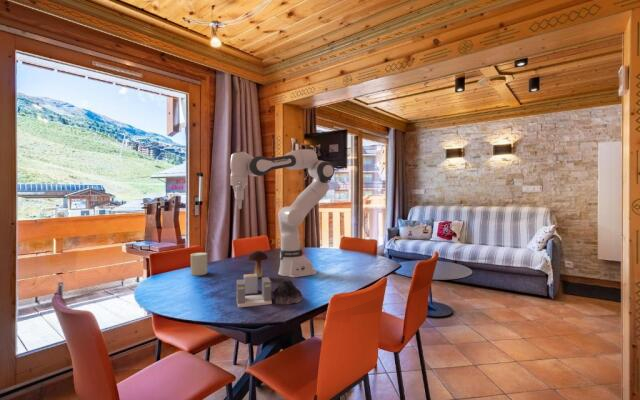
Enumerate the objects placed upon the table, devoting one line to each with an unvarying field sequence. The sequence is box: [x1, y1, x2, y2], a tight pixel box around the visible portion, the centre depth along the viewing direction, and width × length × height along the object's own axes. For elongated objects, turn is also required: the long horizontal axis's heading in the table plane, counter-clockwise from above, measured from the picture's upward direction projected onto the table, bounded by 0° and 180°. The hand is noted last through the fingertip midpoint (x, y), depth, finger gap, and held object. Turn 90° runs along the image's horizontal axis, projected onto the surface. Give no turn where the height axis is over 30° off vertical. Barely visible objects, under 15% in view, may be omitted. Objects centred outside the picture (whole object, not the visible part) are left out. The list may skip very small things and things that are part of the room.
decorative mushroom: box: [247, 250, 269, 279], centre depth 178 cm, size 11×11×15 cm
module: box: [243, 273, 259, 295], centre depth 152 cm, size 6×5×8 cm
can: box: [190, 252, 208, 276], centre depth 187 cm, size 9×9×12 cm
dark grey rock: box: [272, 280, 303, 305], centre depth 141 cm, size 14×14×10 cm
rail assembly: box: [235, 276, 273, 308], centre depth 139 cm, size 14×11×9 cm
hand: (239, 208), depth 169 cm, fingers open, 8 cm apart
